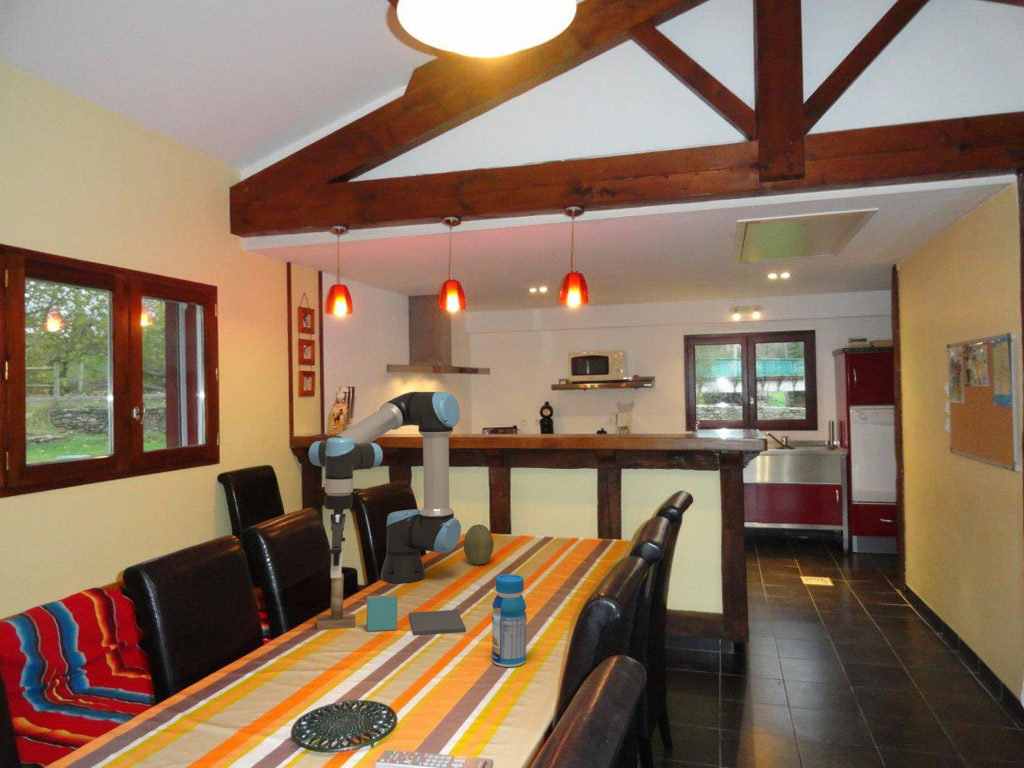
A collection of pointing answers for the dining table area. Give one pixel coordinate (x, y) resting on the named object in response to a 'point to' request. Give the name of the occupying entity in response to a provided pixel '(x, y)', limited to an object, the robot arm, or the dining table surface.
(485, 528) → the fruit
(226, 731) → the dining table surface
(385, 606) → the tile
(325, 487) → the robot arm
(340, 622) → the tamper
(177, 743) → the dining table surface
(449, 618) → the mat
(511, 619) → the beverage bottle
